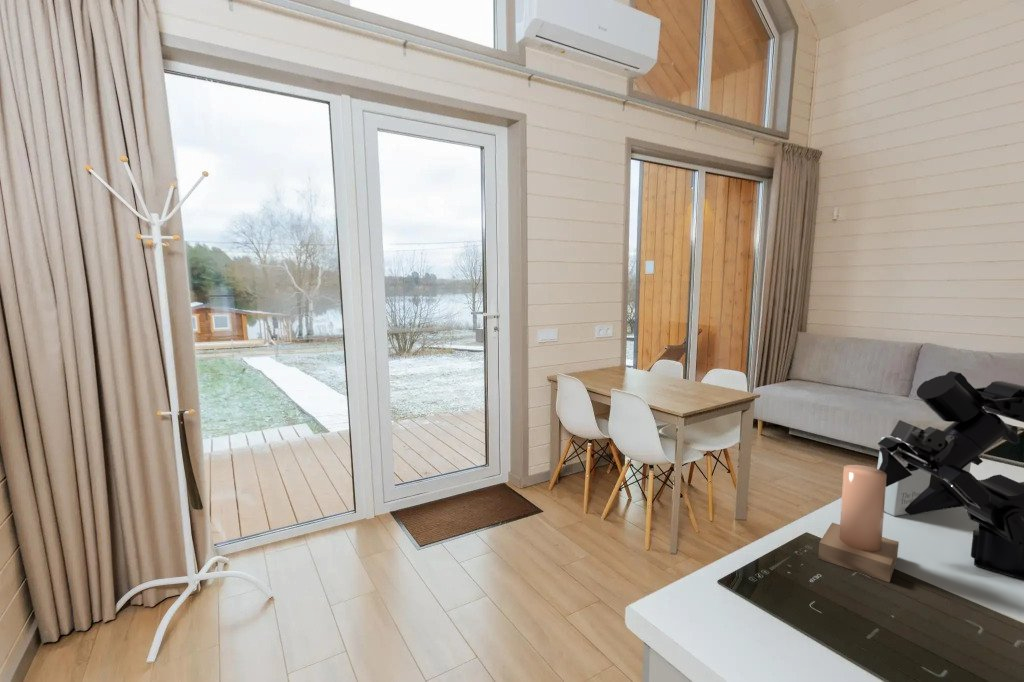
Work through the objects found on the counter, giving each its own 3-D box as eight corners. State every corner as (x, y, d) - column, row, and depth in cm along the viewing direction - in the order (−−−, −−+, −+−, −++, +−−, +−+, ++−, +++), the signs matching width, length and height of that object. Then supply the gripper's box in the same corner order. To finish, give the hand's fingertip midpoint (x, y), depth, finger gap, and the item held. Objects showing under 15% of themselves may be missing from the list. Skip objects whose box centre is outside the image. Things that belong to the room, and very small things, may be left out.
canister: (889, 546, 83) (894, 474, 81) (867, 554, 80) (872, 480, 79) (853, 530, 88) (857, 462, 87) (831, 537, 86) (835, 467, 85)
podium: (897, 557, 85) (898, 541, 84) (889, 582, 78) (891, 565, 77) (830, 537, 92) (832, 522, 91) (818, 558, 85) (819, 542, 84)
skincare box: (896, 518, 99) (903, 444, 97) (871, 506, 104) (877, 436, 103) (968, 505, 105) (976, 435, 103) (940, 495, 110) (947, 428, 108)
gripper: (892, 394, 90) (826, 449, 92) (976, 422, 71) (891, 490, 74) (934, 436, 90) (867, 490, 92) (1029, 474, 71) (942, 541, 74)
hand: (888, 500), depth 83 cm, fingers open, 9 cm apart
